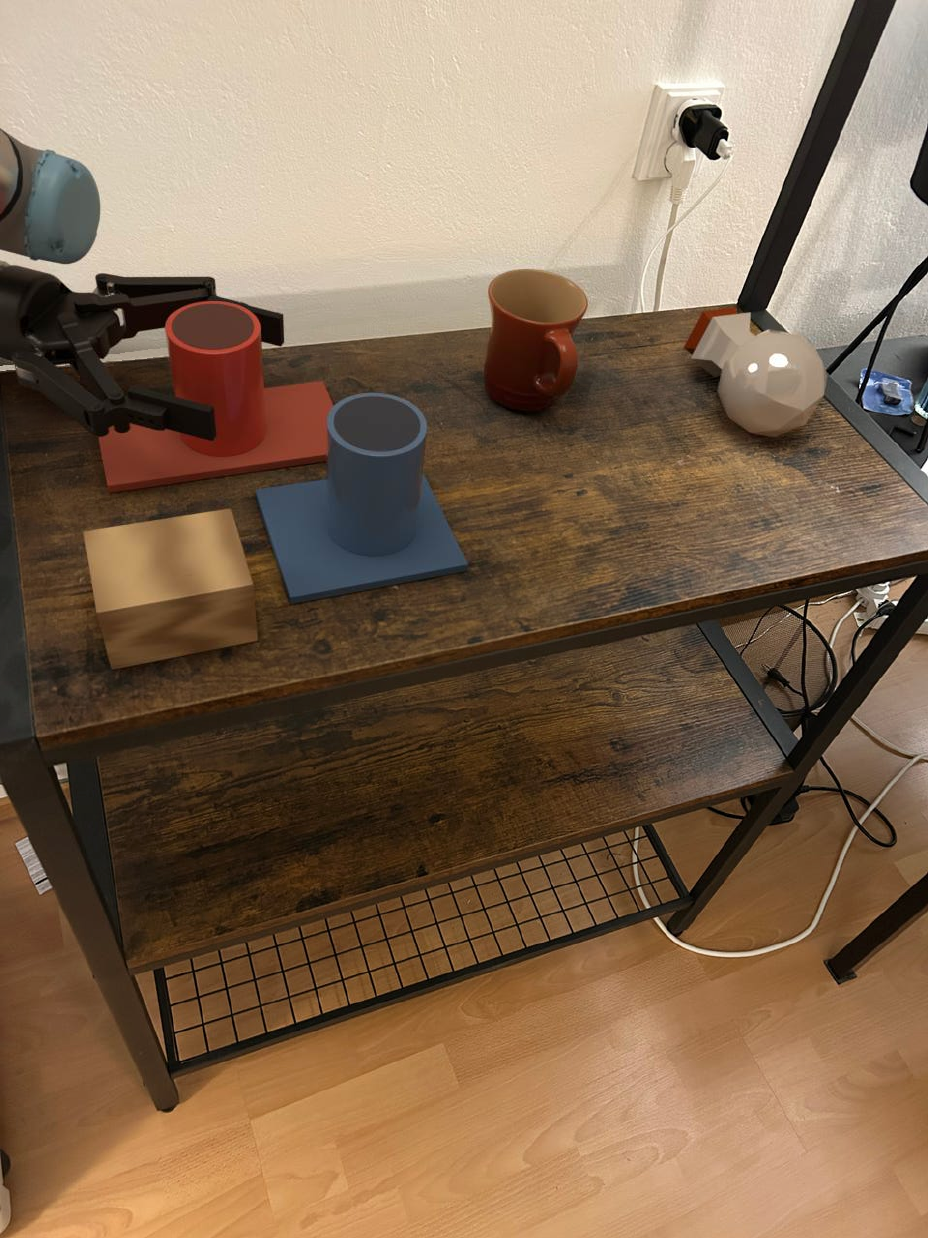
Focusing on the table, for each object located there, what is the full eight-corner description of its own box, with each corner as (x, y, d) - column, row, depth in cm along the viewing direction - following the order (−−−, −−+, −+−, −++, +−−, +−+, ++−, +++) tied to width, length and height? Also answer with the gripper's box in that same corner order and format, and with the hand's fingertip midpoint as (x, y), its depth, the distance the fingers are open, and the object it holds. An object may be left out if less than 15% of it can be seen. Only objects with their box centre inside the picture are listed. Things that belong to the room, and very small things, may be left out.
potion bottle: (770, 474, 90) (686, 394, 100) (860, 409, 89) (765, 334, 99) (743, 412, 83) (656, 332, 93) (839, 339, 82) (740, 267, 92)
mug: (460, 371, 93) (473, 273, 85) (542, 360, 96) (562, 264, 88) (509, 450, 86) (528, 351, 78) (596, 435, 89) (622, 338, 81)
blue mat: (290, 604, 72) (290, 597, 71) (255, 496, 79) (254, 489, 78) (467, 571, 76) (468, 563, 75) (418, 471, 83) (419, 464, 82)
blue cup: (339, 563, 74) (342, 462, 66) (316, 500, 78) (315, 398, 70) (429, 547, 76) (441, 447, 68) (401, 487, 80) (409, 386, 73)
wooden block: (111, 670, 66) (96, 612, 61) (98, 590, 70) (83, 531, 66) (258, 641, 69) (253, 584, 64) (236, 565, 73) (230, 507, 69)
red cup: (187, 462, 79) (173, 357, 72) (172, 408, 83) (157, 304, 76) (274, 450, 81) (269, 347, 74) (256, 398, 86) (250, 296, 78)
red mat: (109, 493, 77) (107, 485, 76) (94, 416, 83) (92, 408, 82) (352, 457, 83) (352, 450, 82) (322, 387, 89) (322, 380, 88)
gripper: (91, 279, 90) (307, 334, 88) (-76, 437, 74) (184, 509, 72) (76, 200, 84) (306, 257, 83) (-109, 352, 68) (172, 428, 66)
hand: (250, 374), depth 77 cm, fingers open, 13 cm apart
